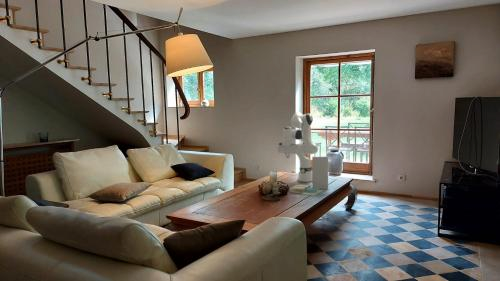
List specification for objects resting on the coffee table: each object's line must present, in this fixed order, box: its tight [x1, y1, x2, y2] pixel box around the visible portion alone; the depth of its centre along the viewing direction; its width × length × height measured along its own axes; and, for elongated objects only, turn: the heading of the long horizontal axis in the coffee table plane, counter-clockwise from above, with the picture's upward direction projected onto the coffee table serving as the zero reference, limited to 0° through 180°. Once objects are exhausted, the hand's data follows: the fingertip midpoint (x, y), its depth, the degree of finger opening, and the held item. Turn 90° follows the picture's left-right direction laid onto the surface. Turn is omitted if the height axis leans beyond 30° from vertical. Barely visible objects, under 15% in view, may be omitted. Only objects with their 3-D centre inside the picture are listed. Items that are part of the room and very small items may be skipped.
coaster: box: [305, 186, 318, 193], centre depth 317 cm, size 8×8×3 cm
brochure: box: [311, 156, 329, 190], centre depth 330 cm, size 14×6×30 cm, turn 85°
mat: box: [302, 189, 325, 197], centre depth 316 cm, size 20×12×1 cm, turn 145°
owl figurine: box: [261, 179, 281, 202], centre depth 297 cm, size 18×12×17 cm, turn 52°
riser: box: [289, 183, 311, 195], centre depth 323 cm, size 18×12×4 cm, turn 144°
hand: (287, 157), depth 336 cm, fingers closed
